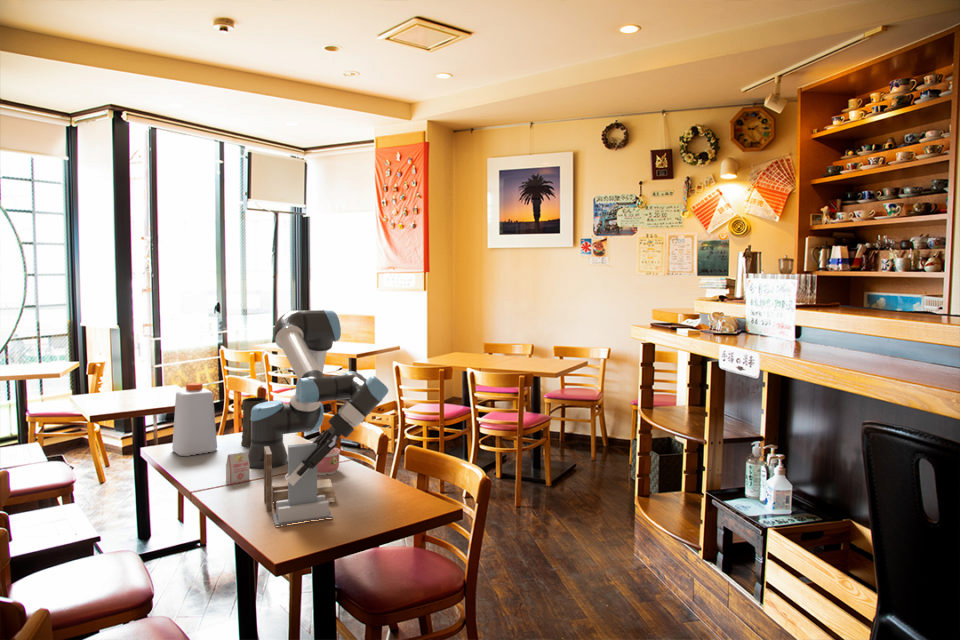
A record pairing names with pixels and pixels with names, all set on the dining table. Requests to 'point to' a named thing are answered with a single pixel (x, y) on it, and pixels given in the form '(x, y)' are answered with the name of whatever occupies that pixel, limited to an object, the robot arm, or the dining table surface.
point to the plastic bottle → (194, 421)
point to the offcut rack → (281, 491)
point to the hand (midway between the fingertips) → (288, 481)
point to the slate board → (307, 483)
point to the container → (329, 463)
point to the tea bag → (237, 468)
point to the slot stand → (301, 511)
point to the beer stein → (248, 418)
